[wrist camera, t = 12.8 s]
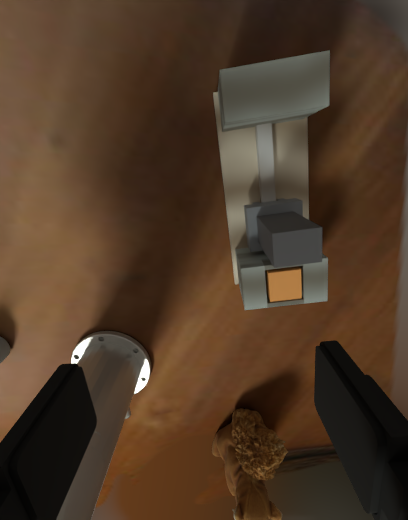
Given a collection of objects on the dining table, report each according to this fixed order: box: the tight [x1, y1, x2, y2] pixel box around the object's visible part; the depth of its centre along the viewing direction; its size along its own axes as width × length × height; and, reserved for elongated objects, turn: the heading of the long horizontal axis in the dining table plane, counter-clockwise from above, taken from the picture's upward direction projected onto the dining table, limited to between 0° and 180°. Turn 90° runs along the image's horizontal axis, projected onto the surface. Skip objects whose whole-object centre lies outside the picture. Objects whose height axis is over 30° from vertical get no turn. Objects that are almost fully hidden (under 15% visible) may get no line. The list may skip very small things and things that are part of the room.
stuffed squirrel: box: [212, 408, 288, 520], centre depth 41 cm, size 10×14×13 cm
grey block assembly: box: [213, 50, 330, 310], centre depth 30 cm, size 23×10×8 cm, turn 8°
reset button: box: [265, 266, 302, 302], centre depth 29 cm, size 3×3×2 cm
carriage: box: [244, 198, 322, 268], centre depth 28 cm, size 5×6×12 cm
